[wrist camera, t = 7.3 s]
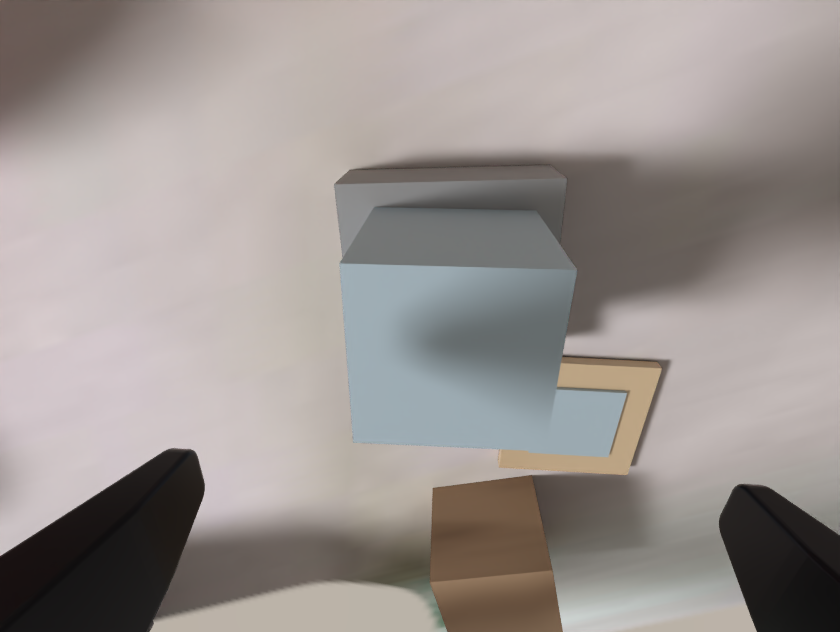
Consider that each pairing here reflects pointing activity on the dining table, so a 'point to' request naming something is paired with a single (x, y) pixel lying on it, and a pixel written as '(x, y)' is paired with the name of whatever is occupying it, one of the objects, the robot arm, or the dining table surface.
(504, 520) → the walnut cube
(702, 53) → the dining table surface
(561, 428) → the tan flat square frame
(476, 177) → the base block
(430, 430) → the slate cube
